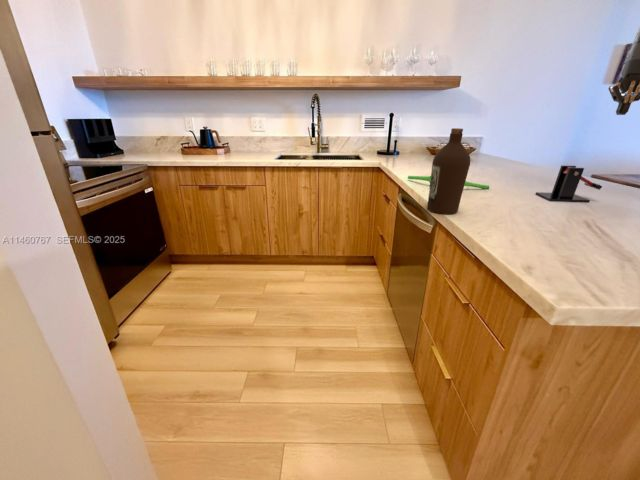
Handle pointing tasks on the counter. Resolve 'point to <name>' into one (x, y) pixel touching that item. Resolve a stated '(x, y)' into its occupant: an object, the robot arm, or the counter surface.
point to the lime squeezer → (428, 178)
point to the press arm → (587, 181)
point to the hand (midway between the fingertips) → (620, 114)
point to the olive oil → (448, 175)
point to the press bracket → (565, 186)
